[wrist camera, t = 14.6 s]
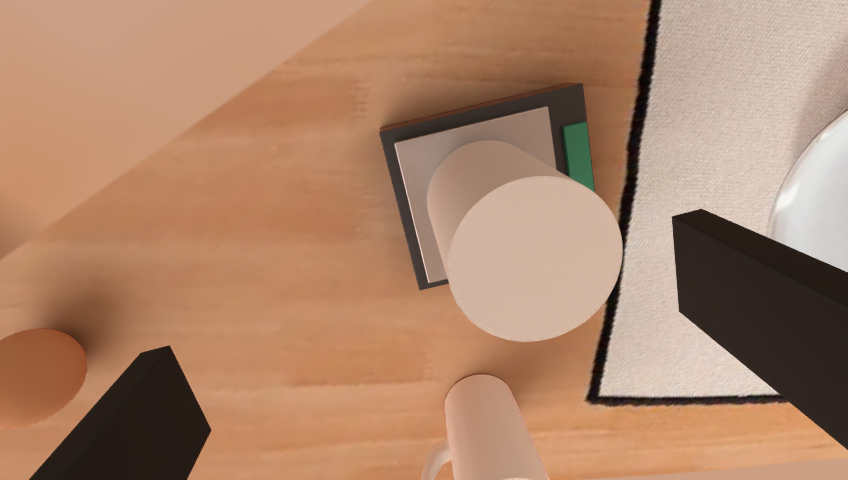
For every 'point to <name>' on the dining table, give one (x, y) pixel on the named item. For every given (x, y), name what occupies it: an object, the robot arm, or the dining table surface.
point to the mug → (485, 435)
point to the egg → (38, 375)
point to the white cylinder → (521, 242)
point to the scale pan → (431, 149)
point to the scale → (560, 100)
